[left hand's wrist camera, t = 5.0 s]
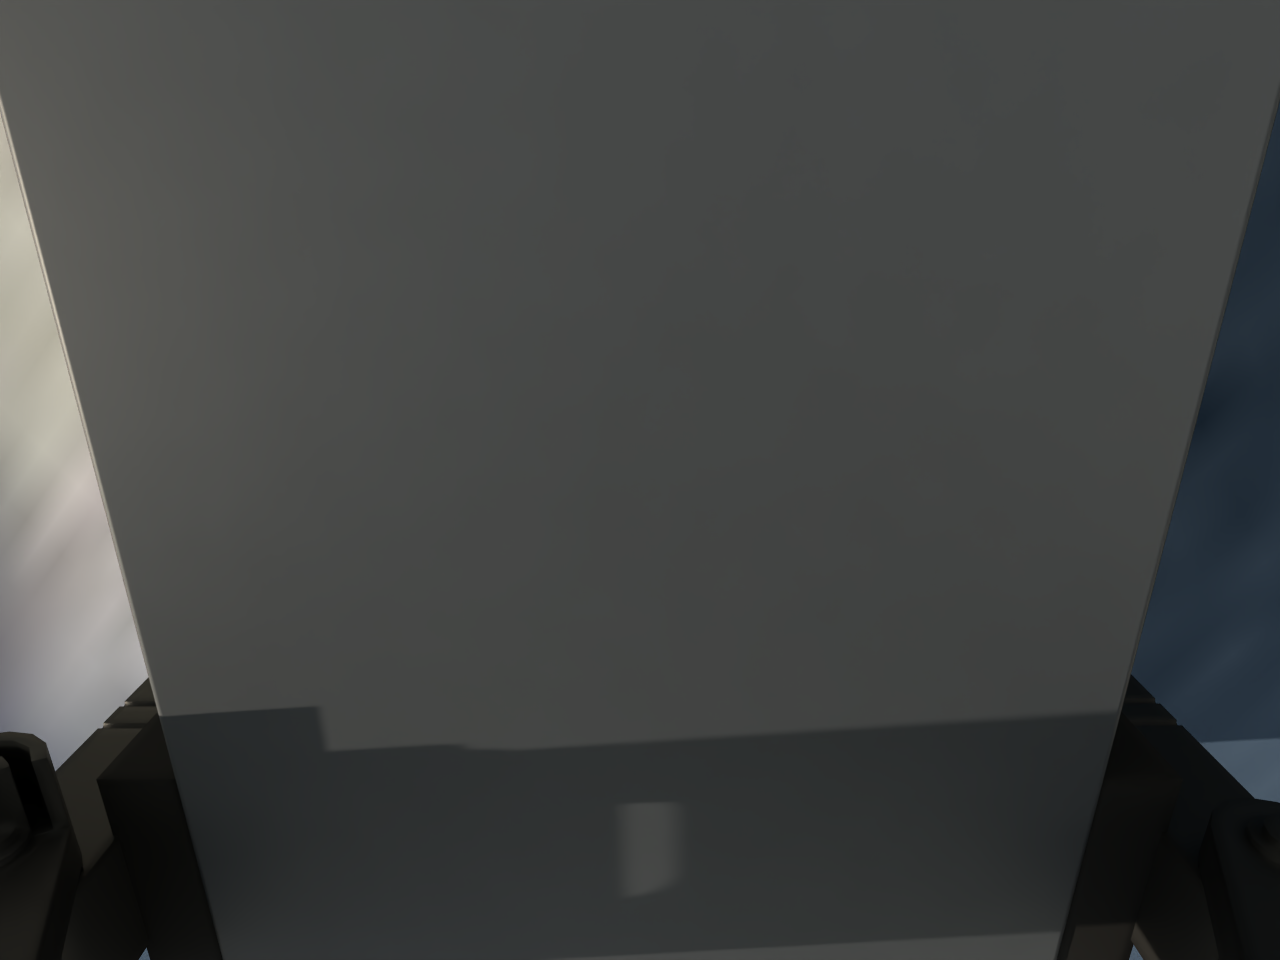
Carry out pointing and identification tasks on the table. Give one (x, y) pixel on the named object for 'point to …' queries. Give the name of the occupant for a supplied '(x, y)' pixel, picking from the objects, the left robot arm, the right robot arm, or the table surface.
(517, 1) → the wide beam
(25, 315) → the table surface
